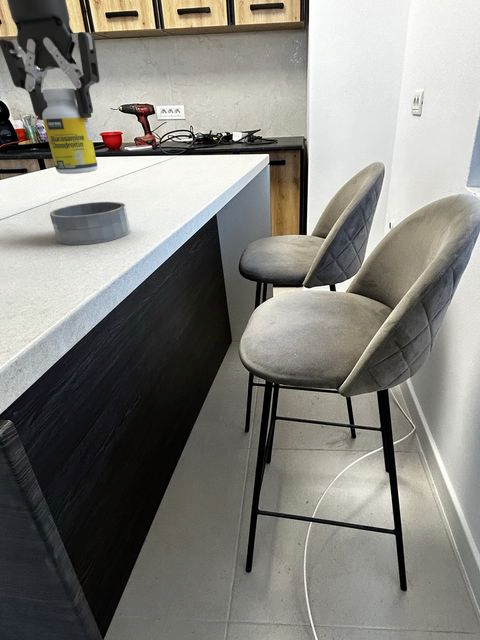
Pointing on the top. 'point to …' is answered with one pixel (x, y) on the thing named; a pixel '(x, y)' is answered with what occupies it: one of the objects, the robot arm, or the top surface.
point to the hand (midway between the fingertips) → (65, 118)
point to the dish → (90, 223)
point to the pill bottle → (68, 133)
